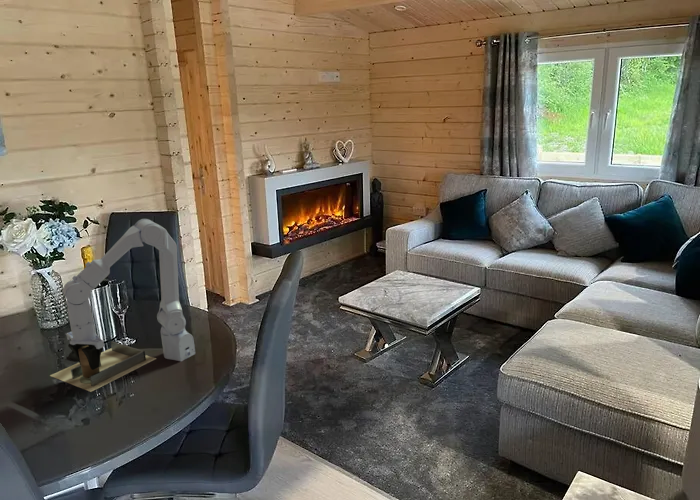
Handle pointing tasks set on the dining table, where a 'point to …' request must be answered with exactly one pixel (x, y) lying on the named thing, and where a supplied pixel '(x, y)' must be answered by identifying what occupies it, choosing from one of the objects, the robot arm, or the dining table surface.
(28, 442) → the dining table surface
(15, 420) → the dining table surface
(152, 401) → the dining table surface
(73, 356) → the game controller
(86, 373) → the peg
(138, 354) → the channel walls
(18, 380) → the dining table surface
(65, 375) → the board
